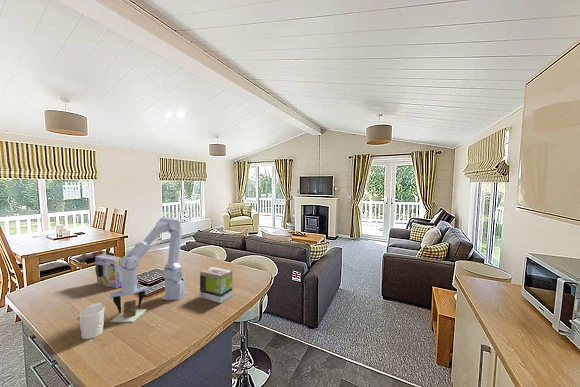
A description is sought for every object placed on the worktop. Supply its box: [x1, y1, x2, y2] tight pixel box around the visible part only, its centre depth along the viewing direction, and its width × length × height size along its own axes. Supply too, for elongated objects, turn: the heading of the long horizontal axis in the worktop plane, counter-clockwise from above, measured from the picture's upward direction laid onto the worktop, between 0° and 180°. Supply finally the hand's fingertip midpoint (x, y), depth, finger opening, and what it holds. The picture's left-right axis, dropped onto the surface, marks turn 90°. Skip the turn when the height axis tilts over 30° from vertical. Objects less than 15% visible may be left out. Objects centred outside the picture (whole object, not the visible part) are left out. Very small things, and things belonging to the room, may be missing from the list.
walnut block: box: [123, 299, 137, 318], centre depth 110 cm, size 4×4×6 cm
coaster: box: [110, 308, 148, 324], centre depth 110 cm, size 10×10×1 cm
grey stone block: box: [87, 302, 102, 308], centre depth 112 cm, size 4×4×4 cm
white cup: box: [78, 305, 105, 340], centre depth 96 cm, size 8×8×10 cm
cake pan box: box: [94, 254, 123, 289], centre depth 141 cm, size 19×5×18 cm, turn 68°
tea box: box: [199, 266, 233, 304], centre depth 129 cm, size 15×10×15 cm, turn 65°
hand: (129, 309), depth 110 cm, fingers open, 7 cm apart
